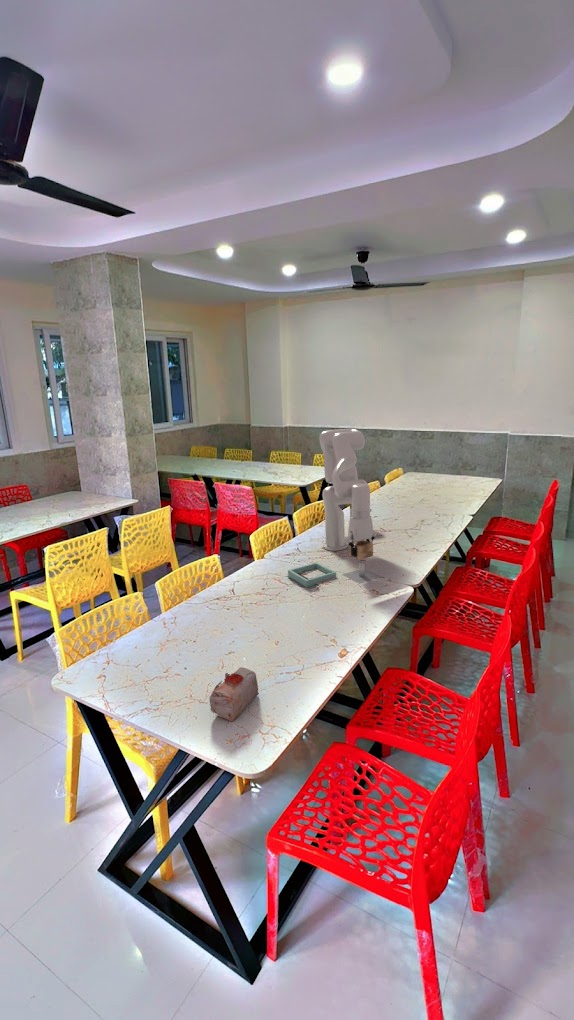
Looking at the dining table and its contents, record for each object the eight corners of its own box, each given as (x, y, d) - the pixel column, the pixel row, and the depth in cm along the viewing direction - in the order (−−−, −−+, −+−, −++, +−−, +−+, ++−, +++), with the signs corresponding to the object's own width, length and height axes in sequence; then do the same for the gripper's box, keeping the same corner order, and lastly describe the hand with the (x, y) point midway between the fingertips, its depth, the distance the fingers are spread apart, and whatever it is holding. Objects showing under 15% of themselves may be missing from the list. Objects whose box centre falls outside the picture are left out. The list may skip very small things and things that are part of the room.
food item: (233, 726, 130) (230, 692, 127) (208, 717, 134) (205, 684, 131) (261, 696, 141) (259, 665, 139) (238, 689, 145) (235, 658, 143)
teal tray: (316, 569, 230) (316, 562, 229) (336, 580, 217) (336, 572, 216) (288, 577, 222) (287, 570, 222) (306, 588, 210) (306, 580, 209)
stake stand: (363, 571, 225) (363, 553, 223) (381, 579, 215) (381, 561, 213) (342, 577, 219) (341, 559, 217) (359, 586, 209) (359, 568, 207)
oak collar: (362, 551, 219) (362, 539, 218) (373, 556, 213) (373, 543, 212) (349, 554, 216) (349, 542, 214) (359, 559, 210) (359, 547, 209)
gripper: (371, 508, 217) (371, 547, 222) (338, 515, 209) (339, 556, 214) (383, 511, 211) (382, 552, 216) (349, 519, 202) (350, 561, 207)
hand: (361, 553), depth 214 cm, fingers closed on oak collar, 7 cm apart
